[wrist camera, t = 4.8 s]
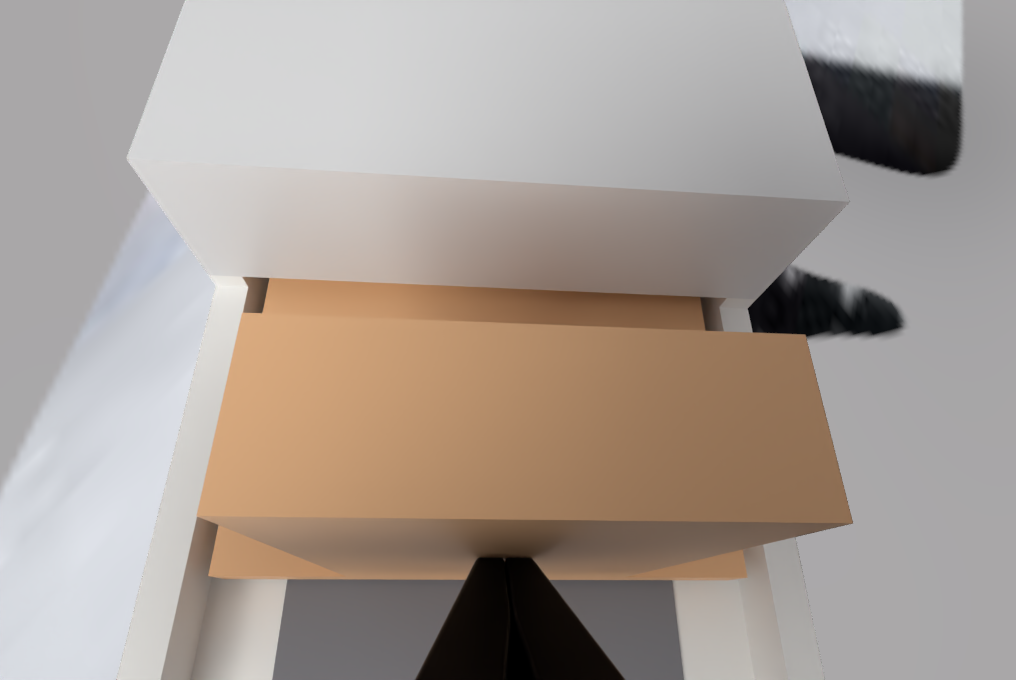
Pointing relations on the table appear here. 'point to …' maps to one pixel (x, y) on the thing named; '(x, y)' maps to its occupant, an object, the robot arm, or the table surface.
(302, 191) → the camera case
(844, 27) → the table surface
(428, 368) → the tan boxy piece
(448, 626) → the robot arm
